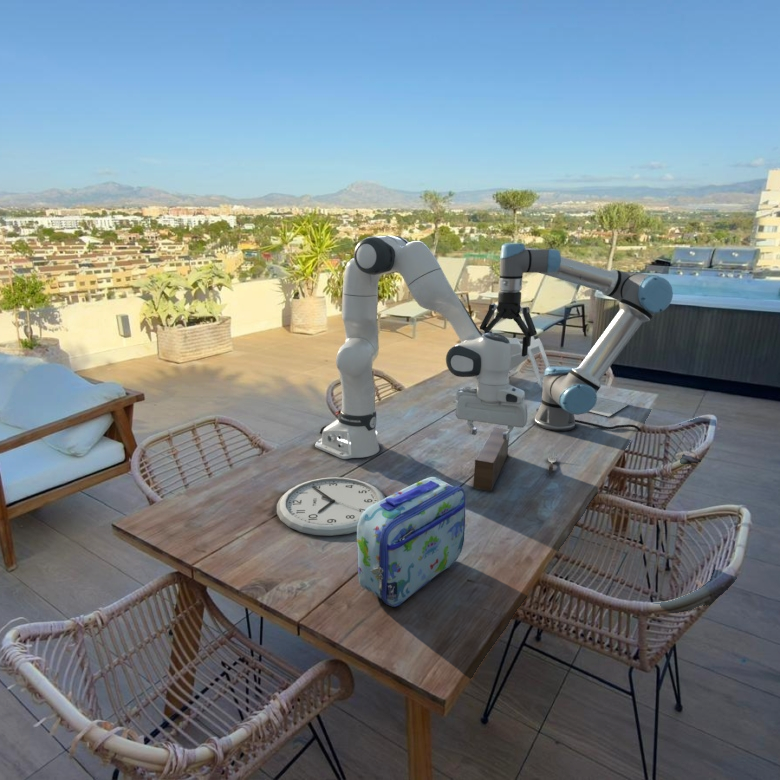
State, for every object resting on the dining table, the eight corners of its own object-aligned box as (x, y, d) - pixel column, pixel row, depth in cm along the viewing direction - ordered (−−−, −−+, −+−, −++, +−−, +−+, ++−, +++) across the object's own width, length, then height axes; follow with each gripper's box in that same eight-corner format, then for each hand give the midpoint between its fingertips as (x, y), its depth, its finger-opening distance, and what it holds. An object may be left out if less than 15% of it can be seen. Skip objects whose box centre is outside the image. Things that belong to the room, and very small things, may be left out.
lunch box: (386, 620, 101) (388, 525, 95) (350, 593, 108) (349, 503, 102) (468, 563, 119) (474, 480, 112) (432, 543, 126) (436, 464, 120)
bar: (491, 452, 178) (493, 427, 176) (507, 455, 177) (509, 429, 174) (473, 488, 154) (475, 459, 151) (491, 491, 152) (493, 463, 149)
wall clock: (392, 527, 129) (268, 531, 127) (391, 533, 130) (269, 537, 127) (383, 473, 158) (282, 475, 155) (383, 478, 158) (282, 480, 156)
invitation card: (608, 416, 214) (573, 407, 224) (608, 416, 214) (573, 408, 224) (628, 404, 229) (594, 396, 238) (628, 405, 229) (594, 397, 238)
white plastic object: (490, 419, 266) (470, 396, 241) (471, 346, 288) (451, 319, 263) (561, 395, 253) (548, 368, 229) (535, 321, 276) (521, 290, 251)
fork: (545, 476, 161) (545, 470, 161) (548, 456, 176) (549, 450, 175) (553, 477, 160) (554, 471, 160) (556, 457, 175) (557, 452, 174)
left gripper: (453, 389, 149) (451, 434, 153) (527, 398, 142) (523, 445, 146) (459, 384, 154) (457, 427, 159) (530, 392, 147) (526, 437, 151)
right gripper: (471, 289, 180) (469, 349, 186) (540, 294, 165) (535, 360, 171) (482, 287, 185) (479, 346, 192) (550, 292, 170) (544, 355, 177)
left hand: (489, 436), depth 152 cm, fingers open, 8 cm apart
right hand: (506, 353), depth 181 cm, fingers open, 13 cm apart
